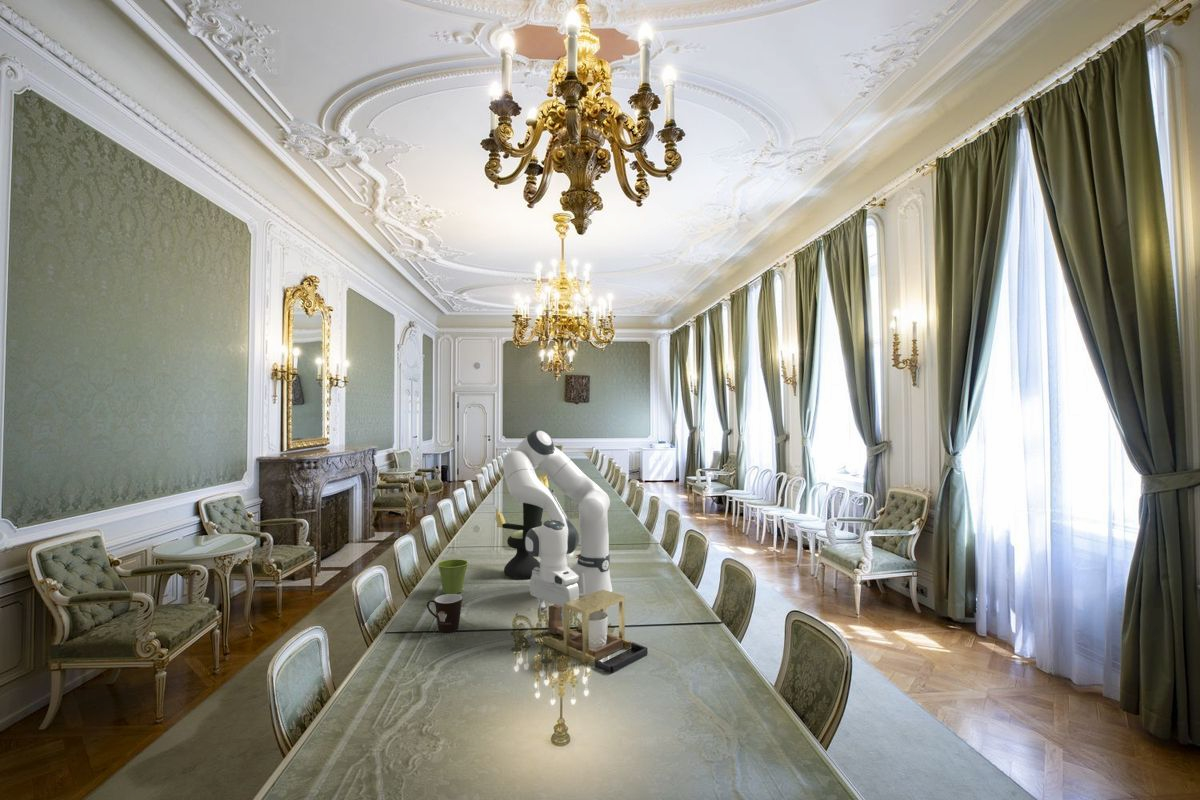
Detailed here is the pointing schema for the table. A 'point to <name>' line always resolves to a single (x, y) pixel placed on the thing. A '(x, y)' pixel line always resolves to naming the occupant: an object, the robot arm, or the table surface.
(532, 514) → the candelabra
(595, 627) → the white cup
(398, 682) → the table surface
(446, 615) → the coffee mug
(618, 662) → the tunnel
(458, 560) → the plant pot
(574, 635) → the wooden frame with handle
